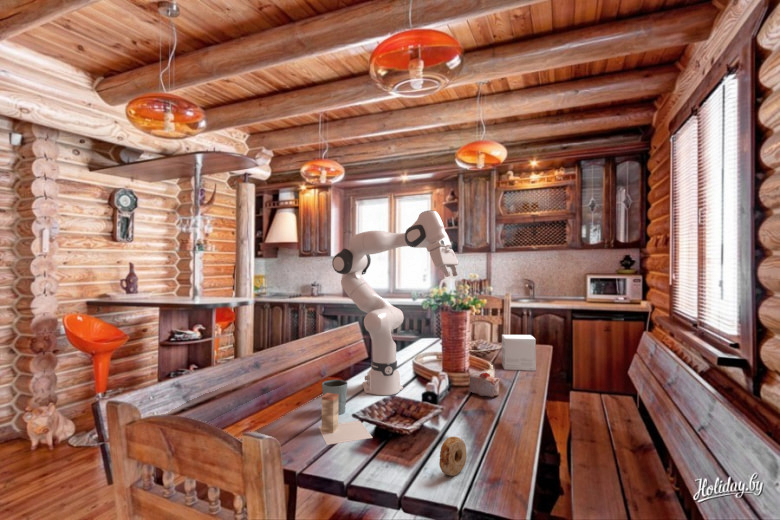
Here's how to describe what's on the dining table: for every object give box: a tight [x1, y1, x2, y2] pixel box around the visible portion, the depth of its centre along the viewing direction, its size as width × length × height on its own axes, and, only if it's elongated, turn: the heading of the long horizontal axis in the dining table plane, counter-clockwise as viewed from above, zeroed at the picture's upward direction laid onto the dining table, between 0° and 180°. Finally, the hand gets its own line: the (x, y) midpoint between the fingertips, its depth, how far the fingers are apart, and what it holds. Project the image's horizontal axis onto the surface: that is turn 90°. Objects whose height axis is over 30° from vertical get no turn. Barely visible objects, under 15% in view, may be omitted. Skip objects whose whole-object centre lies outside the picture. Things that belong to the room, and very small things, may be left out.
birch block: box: [321, 393, 339, 433], centre depth 147 cm, size 4×4×12 cm
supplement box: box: [501, 334, 537, 372], centre depth 236 cm, size 17×13×18 cm
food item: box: [469, 372, 501, 398], centre depth 188 cm, size 14×8×10 cm, turn 50°
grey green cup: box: [321, 379, 348, 416], centre depth 165 cm, size 10×10×12 cm
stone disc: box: [439, 436, 468, 477], centre depth 118 cm, size 10×4×10 cm, turn 136°
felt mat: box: [317, 420, 373, 446], centre depth 145 cm, size 16×16×1 cm
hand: (452, 276), depth 170 cm, fingers open, 8 cm apart
